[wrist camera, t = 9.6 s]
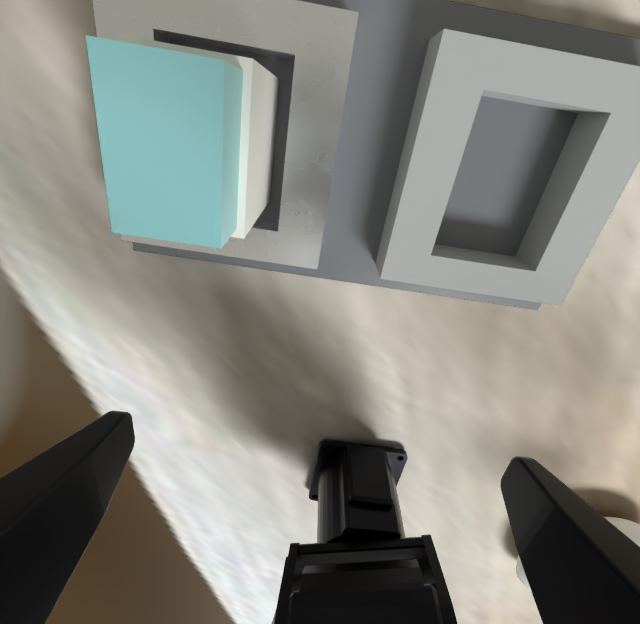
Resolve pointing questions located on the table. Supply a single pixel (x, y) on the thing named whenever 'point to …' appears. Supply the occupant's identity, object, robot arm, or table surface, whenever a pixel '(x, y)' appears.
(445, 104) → the grey square socket frame
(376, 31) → the station board
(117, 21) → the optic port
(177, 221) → the plug
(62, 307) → the table surface
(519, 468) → the robot arm
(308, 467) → the table surface
